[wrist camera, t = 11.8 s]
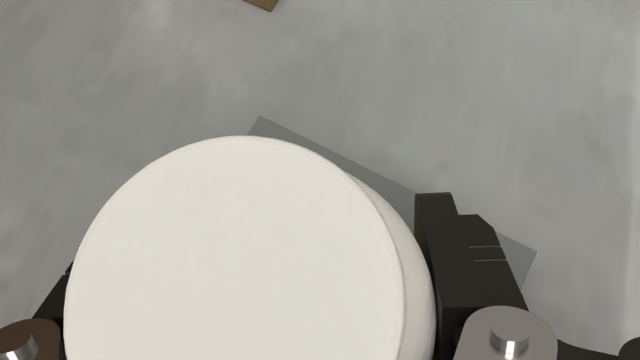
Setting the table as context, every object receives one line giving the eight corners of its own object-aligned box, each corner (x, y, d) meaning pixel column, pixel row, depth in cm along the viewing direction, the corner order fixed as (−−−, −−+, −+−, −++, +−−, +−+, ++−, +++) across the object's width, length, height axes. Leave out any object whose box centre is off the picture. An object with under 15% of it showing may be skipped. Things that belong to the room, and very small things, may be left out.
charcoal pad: (105, 385, 17) (95, 386, 17) (262, 122, 19) (259, 115, 19) (388, 569, 15) (389, 579, 15) (531, 254, 17) (536, 252, 17)
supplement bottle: (448, 328, 15) (582, 314, 6) (306, 472, 14) (192, 728, 5) (317, 193, 16) (251, 4, 7) (181, 319, 16) (-91, 293, 6)
